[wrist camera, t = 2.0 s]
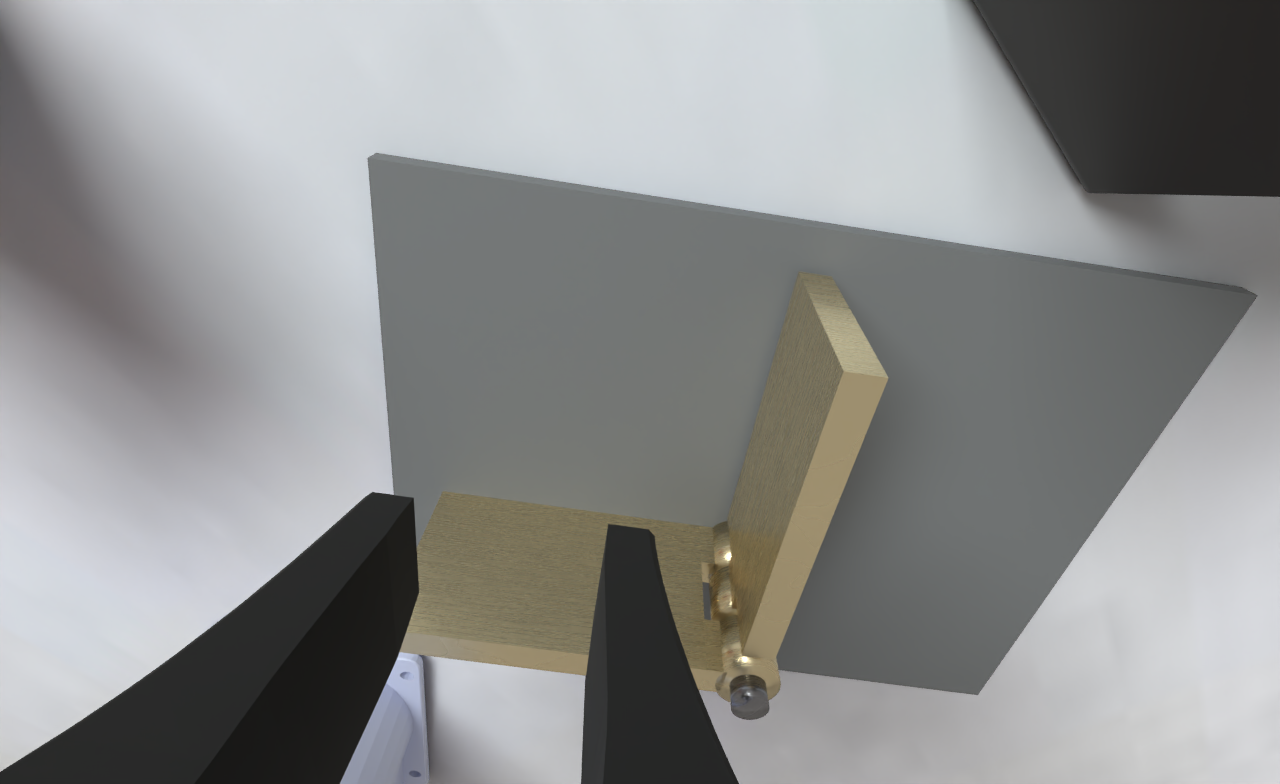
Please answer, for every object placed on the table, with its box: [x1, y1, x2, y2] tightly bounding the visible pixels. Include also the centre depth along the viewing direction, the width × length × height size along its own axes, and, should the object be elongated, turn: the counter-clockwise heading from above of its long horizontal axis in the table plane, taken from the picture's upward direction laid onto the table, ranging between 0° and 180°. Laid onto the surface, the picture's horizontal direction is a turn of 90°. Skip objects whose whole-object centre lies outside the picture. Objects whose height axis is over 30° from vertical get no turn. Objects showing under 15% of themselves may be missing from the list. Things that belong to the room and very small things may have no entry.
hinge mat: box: [368, 153, 1257, 695], centre depth 19 cm, size 16×21×1 cm
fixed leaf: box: [400, 491, 781, 720], centre depth 18 cm, size 10×2×6 cm, turn 82°
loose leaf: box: [709, 271, 888, 660], centre depth 16 cm, size 10×2×5 cm, turn 172°
